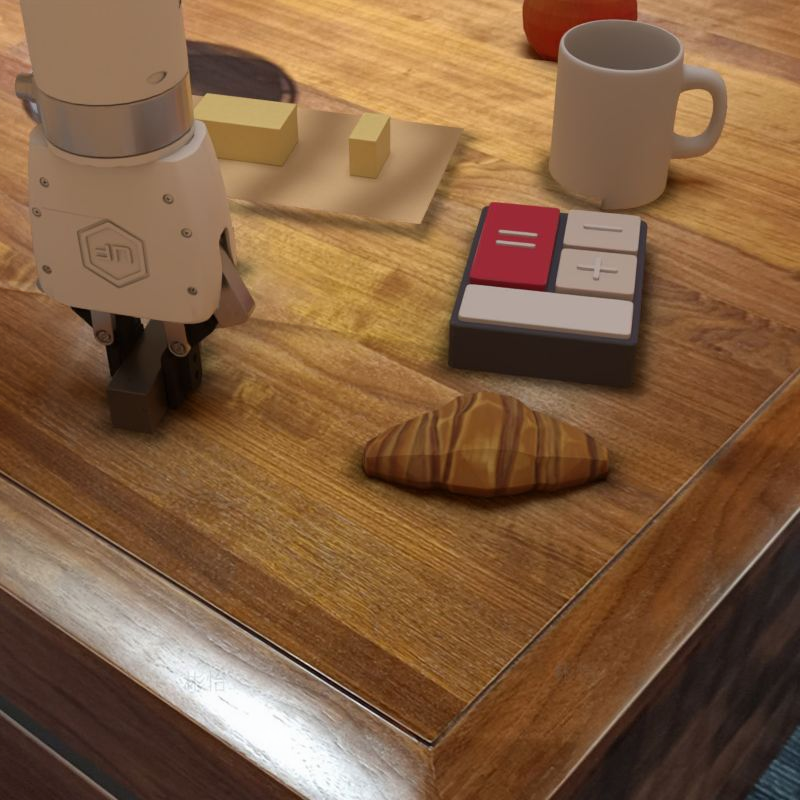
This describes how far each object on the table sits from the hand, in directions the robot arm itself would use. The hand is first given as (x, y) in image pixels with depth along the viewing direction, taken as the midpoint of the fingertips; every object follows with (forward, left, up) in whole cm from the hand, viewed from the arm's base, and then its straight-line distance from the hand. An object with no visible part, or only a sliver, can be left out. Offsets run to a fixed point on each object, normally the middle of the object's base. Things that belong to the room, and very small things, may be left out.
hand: (158, 389), depth 79 cm
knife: (0, +5, 0) cm, 5 cm away
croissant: (+20, -2, -1) cm, 20 cm away
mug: (+24, +31, -1) cm, 39 cm away
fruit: (+17, +51, -1) cm, 54 cm away
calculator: (+21, +14, -1) cm, 25 cm away
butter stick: (-4, +27, +1) cm, 27 cm away
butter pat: (+5, +27, +1) cm, 28 cm away
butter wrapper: (0, +27, -1) cm, 27 cm away
